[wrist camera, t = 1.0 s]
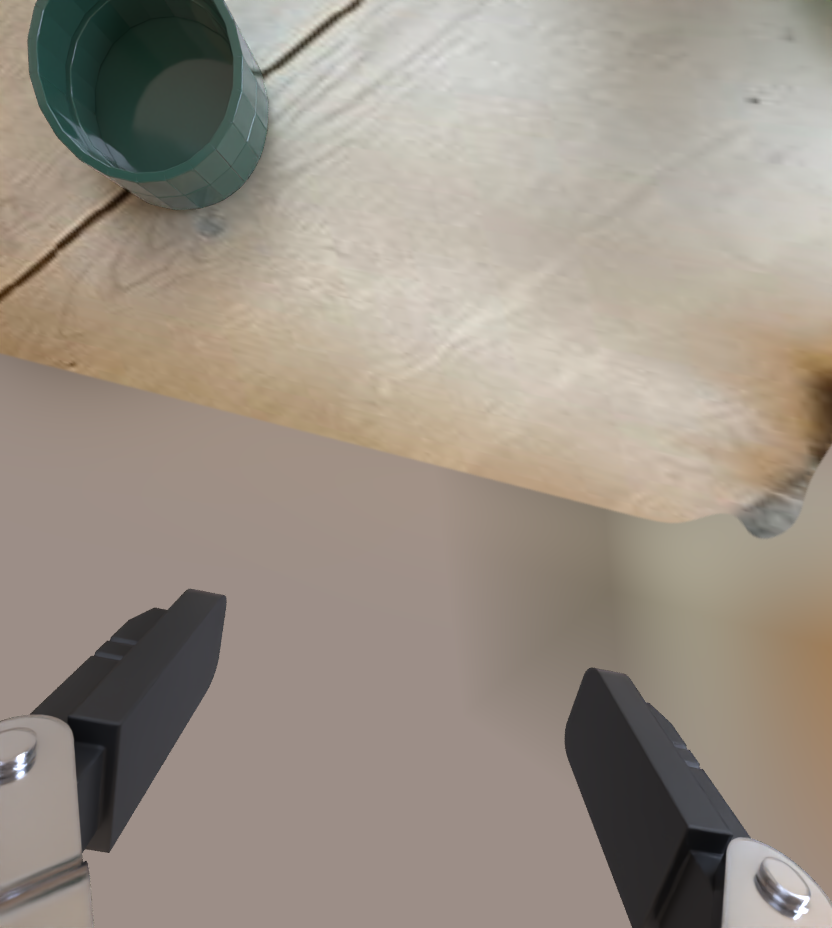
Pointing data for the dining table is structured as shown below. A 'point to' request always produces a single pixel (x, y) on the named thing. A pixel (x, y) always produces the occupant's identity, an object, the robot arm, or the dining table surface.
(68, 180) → the dining table surface
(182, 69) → the crock
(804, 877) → the robot arm
